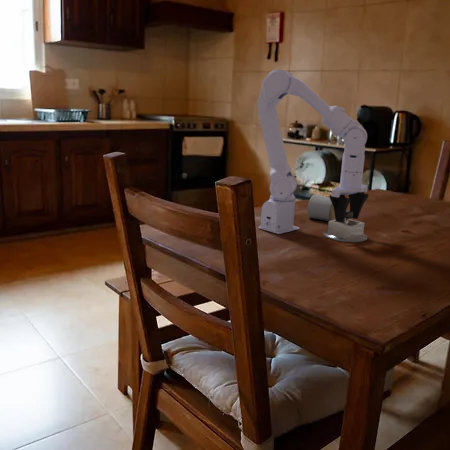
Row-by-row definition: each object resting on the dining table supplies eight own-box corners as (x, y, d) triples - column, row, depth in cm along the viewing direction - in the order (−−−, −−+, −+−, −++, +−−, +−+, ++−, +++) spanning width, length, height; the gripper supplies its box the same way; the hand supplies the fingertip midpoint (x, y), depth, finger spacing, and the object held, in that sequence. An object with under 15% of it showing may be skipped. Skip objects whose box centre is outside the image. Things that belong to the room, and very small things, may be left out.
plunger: (347, 236, 139) (350, 214, 137) (333, 233, 142) (335, 211, 141) (357, 234, 142) (359, 212, 140) (343, 230, 145) (345, 209, 144)
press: (351, 245, 134) (353, 229, 133) (314, 234, 142) (316, 220, 141) (375, 237, 142) (377, 223, 141) (339, 228, 150) (340, 214, 149)
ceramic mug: (330, 224, 156) (333, 199, 154) (305, 219, 160) (308, 195, 158) (342, 218, 164) (345, 195, 162) (319, 214, 169) (321, 191, 167)
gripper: (349, 175, 130) (344, 226, 133) (379, 171, 140) (373, 219, 143) (326, 171, 135) (322, 221, 138) (357, 167, 145) (351, 214, 148)
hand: (346, 219), depth 141 cm, fingers open, 6 cm apart
